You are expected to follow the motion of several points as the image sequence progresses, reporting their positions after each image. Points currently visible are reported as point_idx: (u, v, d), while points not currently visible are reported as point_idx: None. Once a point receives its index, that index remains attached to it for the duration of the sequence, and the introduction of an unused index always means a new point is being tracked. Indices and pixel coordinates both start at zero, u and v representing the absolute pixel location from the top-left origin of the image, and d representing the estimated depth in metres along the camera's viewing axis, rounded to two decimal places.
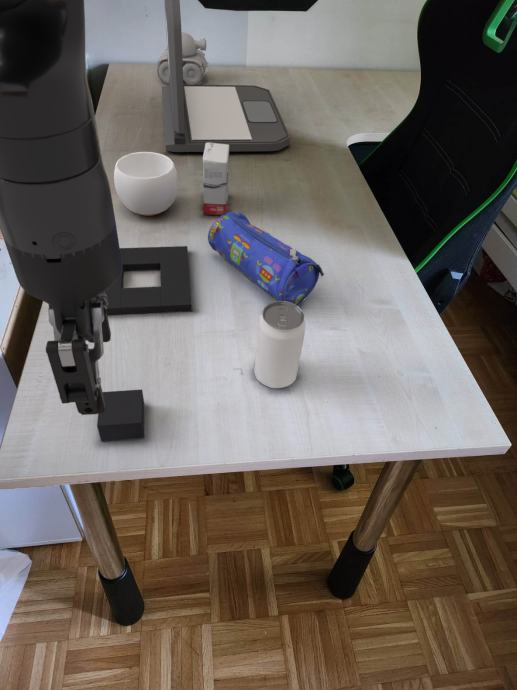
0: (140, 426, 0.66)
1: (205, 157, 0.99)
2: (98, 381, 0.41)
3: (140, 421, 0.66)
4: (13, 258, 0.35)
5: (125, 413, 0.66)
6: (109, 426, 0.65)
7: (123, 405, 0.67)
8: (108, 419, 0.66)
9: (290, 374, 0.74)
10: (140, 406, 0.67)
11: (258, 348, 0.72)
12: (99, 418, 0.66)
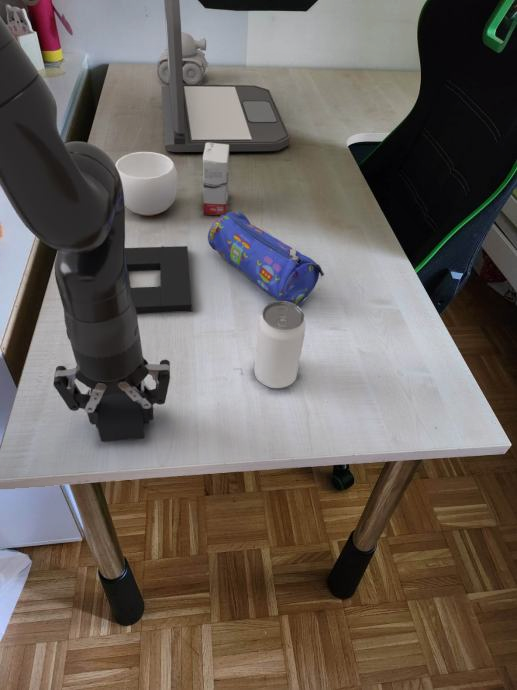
0: (140, 426, 0.66)
1: (205, 157, 0.99)
2: (87, 409, 0.65)
3: (140, 421, 0.66)
4: None
5: (125, 413, 0.66)
6: (109, 426, 0.65)
7: (123, 405, 0.67)
8: (108, 420, 0.66)
9: (290, 374, 0.74)
10: (140, 406, 0.67)
11: (258, 348, 0.72)
12: (99, 418, 0.66)
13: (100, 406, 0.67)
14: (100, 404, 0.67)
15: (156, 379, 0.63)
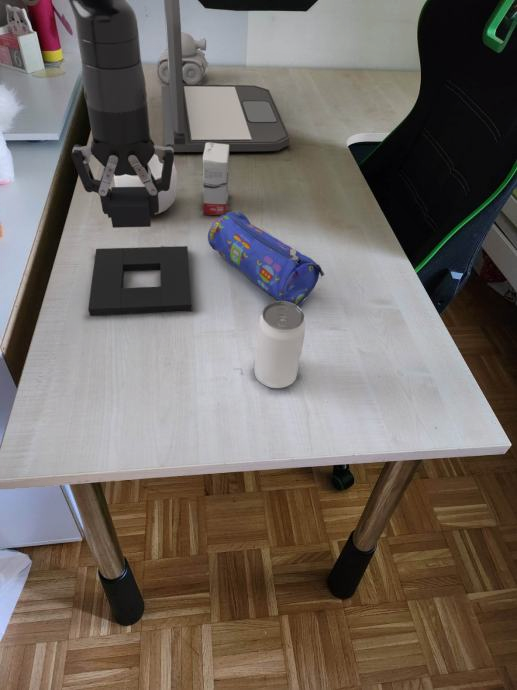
0: (147, 211, 0.74)
1: (205, 157, 0.99)
2: (101, 191, 0.73)
3: (147, 205, 0.74)
4: None
5: (134, 200, 0.75)
6: (120, 208, 0.74)
7: (132, 195, 0.76)
8: (119, 203, 0.74)
9: (290, 374, 0.74)
10: (147, 196, 0.76)
11: (258, 348, 0.72)
12: (111, 202, 0.74)
13: (111, 195, 0.75)
14: (111, 194, 0.75)
15: (161, 159, 0.71)
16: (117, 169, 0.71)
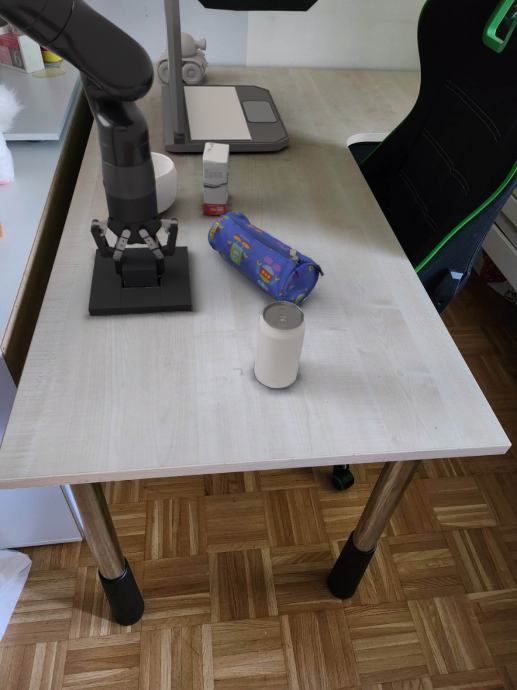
0: (155, 273, 0.86)
1: (205, 157, 0.99)
2: (115, 257, 0.84)
3: (155, 268, 0.86)
4: None
5: (143, 263, 0.86)
6: (131, 271, 0.85)
7: (141, 258, 0.87)
8: (131, 267, 0.85)
9: (290, 374, 0.74)
10: (154, 259, 0.87)
11: (258, 348, 0.72)
12: (123, 266, 0.85)
13: (123, 259, 0.87)
14: (124, 258, 0.87)
15: (167, 231, 0.83)
16: (129, 239, 0.83)
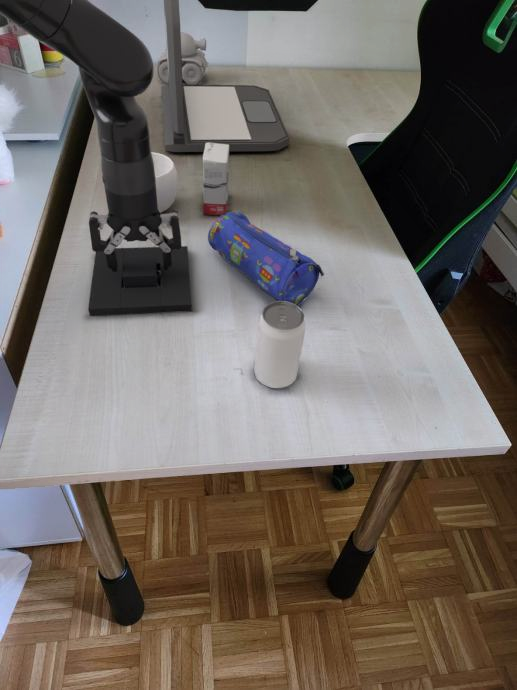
0: (154, 279, 0.87)
1: (205, 157, 0.99)
2: (106, 251, 0.83)
3: (155, 274, 0.87)
4: None
5: (143, 269, 0.87)
6: (131, 277, 0.86)
7: (141, 264, 0.88)
8: (131, 273, 0.86)
9: (290, 374, 0.74)
10: (154, 266, 0.88)
11: (258, 348, 0.72)
12: (123, 272, 0.86)
13: (123, 265, 0.88)
14: (124, 264, 0.88)
15: (169, 225, 0.82)
16: (129, 236, 0.82)
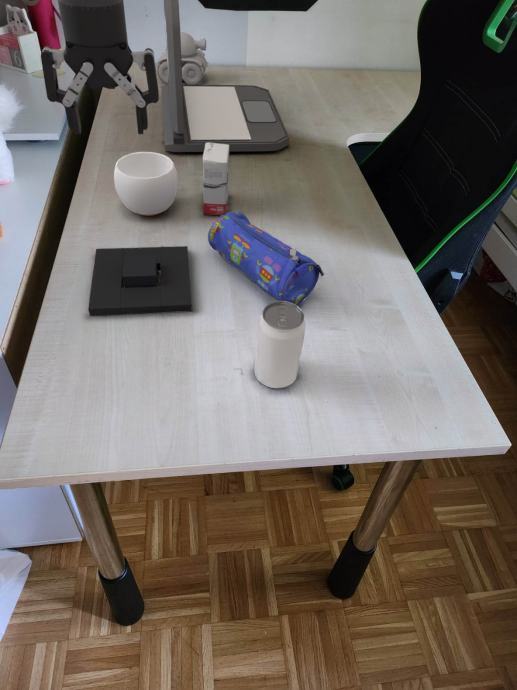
0: (154, 279, 0.87)
1: (205, 157, 0.99)
2: (65, 101, 0.67)
3: (155, 274, 0.87)
4: None
5: (143, 269, 0.87)
6: (131, 277, 0.86)
7: (141, 264, 0.88)
8: (131, 273, 0.86)
9: (290, 374, 0.74)
10: (154, 266, 0.88)
11: (258, 348, 0.72)
12: (123, 272, 0.86)
13: (123, 265, 0.88)
14: (124, 264, 0.88)
15: (142, 65, 0.66)
16: (93, 80, 0.66)
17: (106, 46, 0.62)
